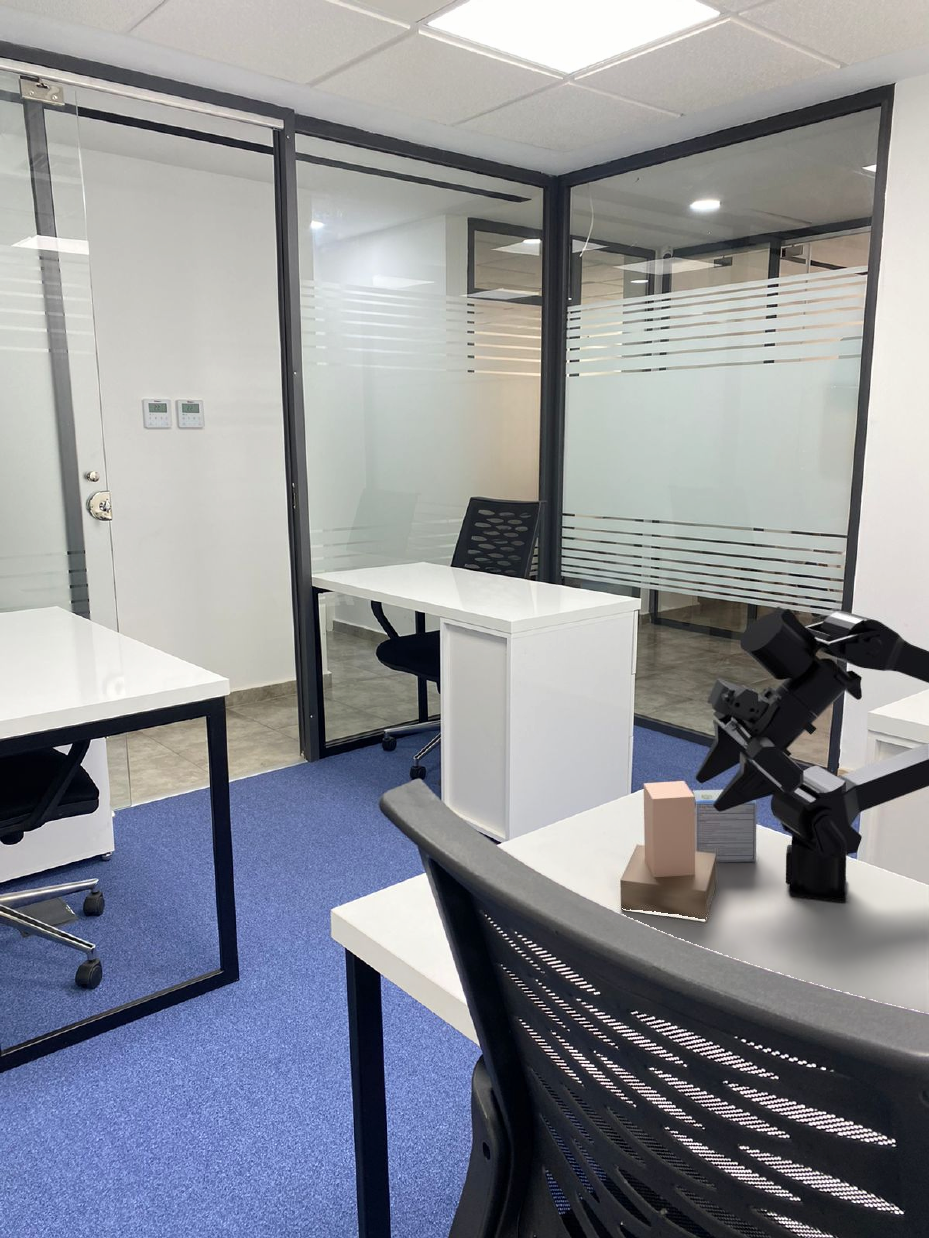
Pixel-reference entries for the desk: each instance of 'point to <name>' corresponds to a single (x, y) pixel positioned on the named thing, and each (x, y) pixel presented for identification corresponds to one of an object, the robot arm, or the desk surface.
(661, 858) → the terracotta block
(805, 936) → the desk surface
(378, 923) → the desk surface
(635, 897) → the walnut base
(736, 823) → the medicine box
